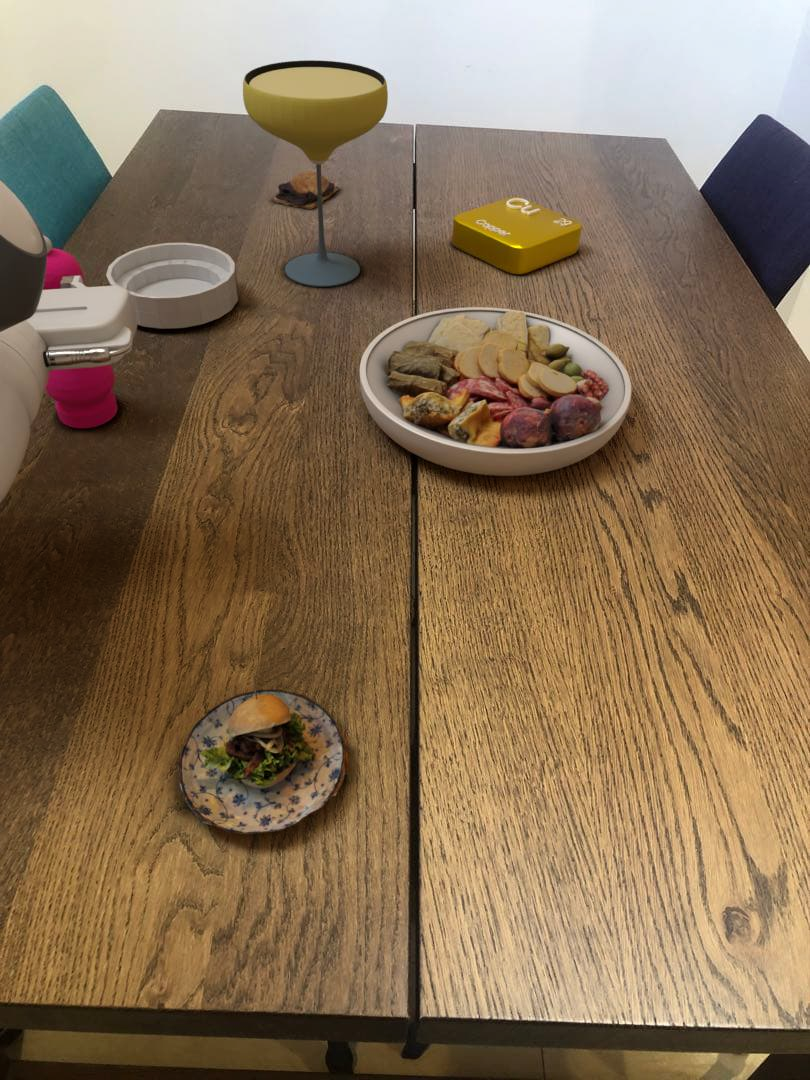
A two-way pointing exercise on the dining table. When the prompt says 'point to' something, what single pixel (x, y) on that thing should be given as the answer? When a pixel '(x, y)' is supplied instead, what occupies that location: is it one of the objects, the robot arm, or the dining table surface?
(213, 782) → the burger
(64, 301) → the robot arm
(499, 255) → the element tile
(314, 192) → the topped cracker
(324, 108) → the cocktail glass
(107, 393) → the pepper mill
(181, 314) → the white ledged dish
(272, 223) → the dining table surface
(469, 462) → the bowl
